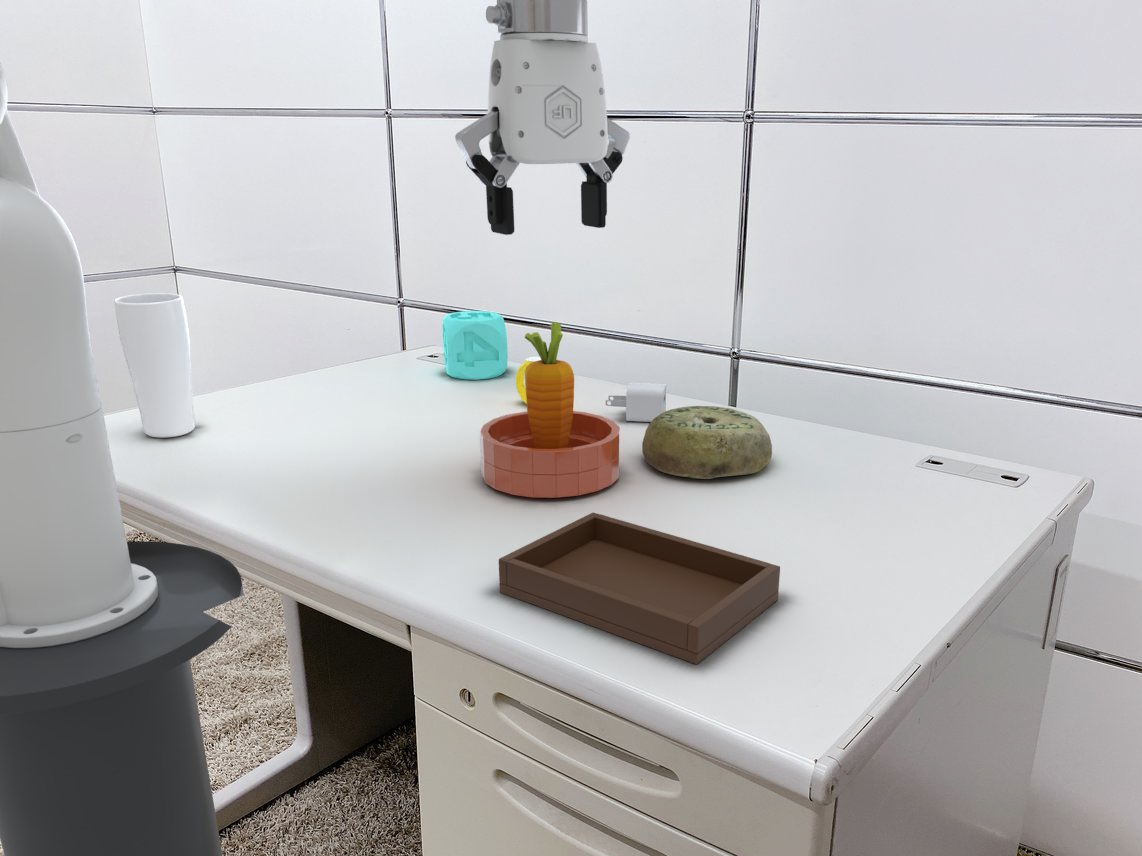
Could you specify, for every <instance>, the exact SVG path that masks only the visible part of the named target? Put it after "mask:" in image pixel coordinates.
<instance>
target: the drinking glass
mask: <svg viewBox="0 0 1142 856" xmlns="http://www.w3.org/2000/svg"><path fill="white" fill-rule="evenodd" d="M113 302H114V309H115V319H116V325H117V330H118V335H119V339H120V344H121V348H122V352H123V355H124V359H125V363H126V366H127V370H128V374H129V378H130V381H131V385H132V388H133V392H134V396H135V399H136V400H135V401H136V403H137V407H138V411H139V415H140V419H141V420H140V421H141V427H142V430H143V432H144V434H145V435H147V436H149V437H152V438H161V439H164V438H166V439H167V438H175V437H179V436H180V437H181V436H184V435H187V434H189V433H191V432H193V431H194V429H195V427H196V418H195V412H194V399H193V383H192V381H193V380H192V364H191V363H192V362H191V346H190V334H189V333H190V332H189V325H188V318H187V311H186V307H185V303H184V297H183V296H182V295H180V294H177V293H170V292H169V293H168V292H151V293H150V292H149V293H138V294H129V295H124V296H120V297H117V298H115V300H114V301H113Z"/></svg>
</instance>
